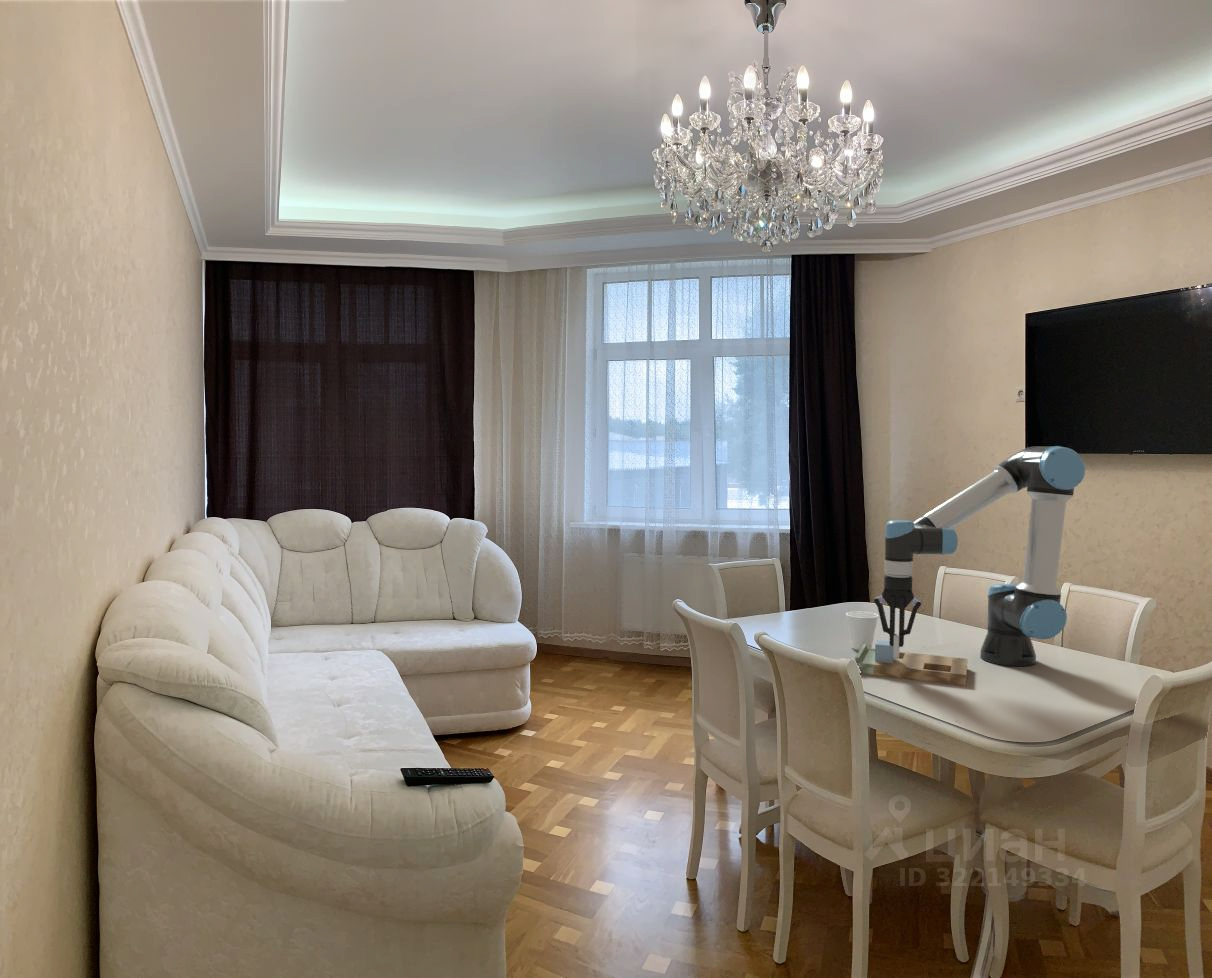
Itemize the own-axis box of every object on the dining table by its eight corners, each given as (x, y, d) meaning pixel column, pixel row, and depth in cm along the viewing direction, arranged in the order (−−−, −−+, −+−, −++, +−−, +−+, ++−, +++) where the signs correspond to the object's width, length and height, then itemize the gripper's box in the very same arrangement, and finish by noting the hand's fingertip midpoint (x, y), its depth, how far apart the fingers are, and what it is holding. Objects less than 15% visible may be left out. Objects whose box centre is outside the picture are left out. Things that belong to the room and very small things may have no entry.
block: (895, 659, 239) (895, 642, 238) (893, 663, 234) (893, 646, 234) (876, 657, 241) (877, 640, 240) (874, 661, 236) (875, 644, 236)
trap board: (967, 669, 240) (967, 653, 239) (965, 685, 223) (966, 669, 223) (863, 657, 252) (863, 643, 251) (854, 672, 235) (855, 657, 235)
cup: (879, 653, 257) (880, 618, 256) (846, 651, 259) (847, 617, 258) (875, 645, 266) (876, 612, 266) (843, 644, 268) (844, 610, 268)
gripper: (923, 574, 234) (921, 657, 235) (875, 571, 239) (873, 652, 241) (922, 578, 227) (919, 663, 228) (872, 575, 232) (870, 658, 234)
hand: (896, 657), depth 234 cm, fingers closed
